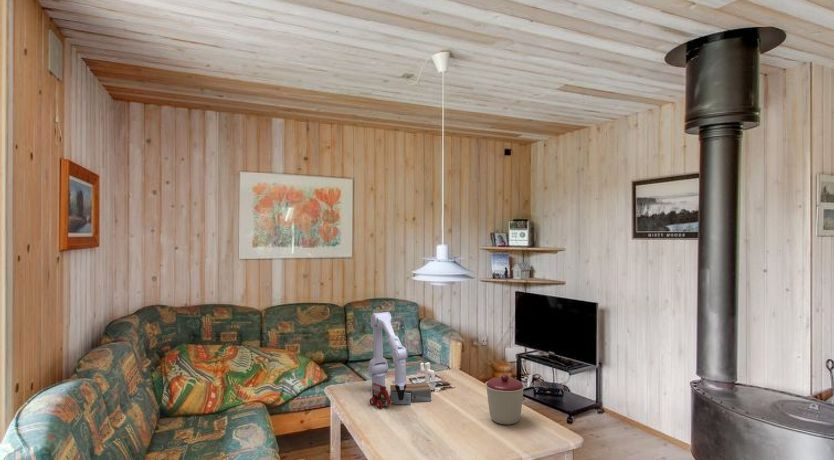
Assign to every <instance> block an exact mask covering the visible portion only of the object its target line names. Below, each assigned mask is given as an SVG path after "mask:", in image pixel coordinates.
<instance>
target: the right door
mask: <svg viewBox="0 0 834 460" xmlns="http://www.w3.org/2000/svg"><path fill="white" fill-rule="evenodd" d="M391 404H396V405H397V404H399V405H409V406H410V405H412V402H411V393H404V398H403V400H399V399H398V394H397V392H392V401H391Z"/></svg>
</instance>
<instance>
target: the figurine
mask: <svg viewBox="0 0 834 460" xmlns="http://www.w3.org/2000/svg"><path fill="white" fill-rule="evenodd" d="M419 365H420V366H419V370H420V373H421V374H424V381H422V382H421V383H428V385H429V387H430V390H432V391H433V390H434V389H435V387H436V386H437V384H438V383H437V382H434V381H435V380H436V372H435V370H433V369H431V362H429V361H428V362H427V361H426V362H425V363H424V362H420V364H419Z"/></svg>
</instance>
